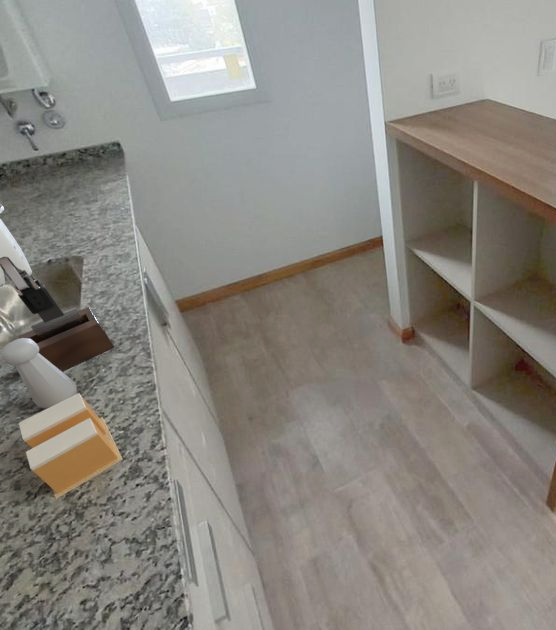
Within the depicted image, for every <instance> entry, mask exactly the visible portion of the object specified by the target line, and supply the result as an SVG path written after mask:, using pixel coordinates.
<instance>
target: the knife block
mask: <svg viewBox="0 0 556 630" xmlns="http://www.w3.org/2000/svg"><path fill="white" fill-rule="evenodd" d="M78 312H79V313H80V315H81V316H82V318H83V319H84V321H85V322H86V323H83V324H81V325H79V326H76V327H74V328H72V329H69V330H67V331H65V332H62V333H60V334H58V335H55V336H53V337H51V338H48V339H46V340H44V341H41V339H40V338H39V337H38V335H37V334H36V333H35V332H34V330H33V329H31V330H29V331H26V332H24V333H22V334H19V335H18V339H21V338H28V339H32V340H33V341H34V342H35V343H36V344H37V345H38V346H39V352H38V353H39V354H41V355H42V356H43V357H44V358H46V359H47V360H48V361H49V362H50V363H52V364H53V365H54V366H55V367H57V368H58V369H59V370H60V371H62V372H63V373H64V372H65V371H67V370H70V369H71V368H73V367H77V365H80V364H83V363H84V362H87V361H88V360H91V359H93V358H95V357H98V356H99V355H101V354H103V353H105V352H108V351H110V350H112V349H114V348H115V345H114V344H113V342H112V340H111V339H110V337H109V335H108V334H107V332H106V330H105V329H104V328H103V326H102V325H101V323H100V321H99V320H98V318H97V317H96V315H95V314H94V313H93V311H92V310H91V308H90V306H87V307H85V308H82V309H80V310H78Z"/></svg>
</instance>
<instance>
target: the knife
mask: <svg viewBox="0 0 556 630" xmlns="http://www.w3.org/2000/svg"><path fill="white" fill-rule="evenodd" d="M40 286H41V288H42V289H43V290H44V292H45V293H46V294H47V296H48V297H49V298H50V300H51V301H52V302H53V304H54V306H53V307H52V308H49V309H47V310H44V311H42V312H39V313H37V315H38V316H39V318H40V319H41V320H40V321H38V322H35V323H32V324H30V325H29V326H30V328H31V330H34V332H35V333H36V334H37V335H38V337H39V338H40V339H41V341H44V340H46V339H48V338H51V337H53V336H55V335H58V334H60V333H62V332H65V331H67V330H69V329H72V328H74V327H76V326H79V325H81V324H83V323H86V322H85V321H84V319H83V318H82V316H81V315H80V313H79V312H78V311H79V310H78V308H77V307H73V308H71V309H69V310H66V311H63V310H62V308H61V307H60V306H59V304H58V302H57V301H56V300H55V298H54V297H53V296H52V295H53V294H51V292H50V291H49V290H48V288H47V287H46V285H45V284H44V283H43V282H42V283H40V284H39V285H38V287H40Z"/></svg>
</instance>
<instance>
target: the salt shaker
mask: <svg viewBox="0 0 556 630" xmlns="http://www.w3.org/2000/svg"><path fill="white" fill-rule="evenodd" d="M38 352H39V346H38V345H37V344H36V343H35V342H34V341H33V340H32V339H28V338H21V339H19V338H17V339H15V340H11V341H10V342H9V343H7V344H5V345H4V346H3V347H2V348H1V351H0V357H1V359H2V360H4V361H5V362H6V363H7V364H8V365H14V367H15V369H16V371H17V373H18V375H19V377H20V379H21V380H22V382H23V383H24V386H25V389H26V390H27V392H28V394H29V396H30V397H31V399H32V401H33V403H34V404H35V405H36V406H37V407H39V408H40V409H43V410H46V409H48V408H50V407H52V406H54V405H56V404H58V403H60V402H62V401H64V400H66V399H68V398H70V397H72V396H74V395H76V394H78V389H77V388H78V385H77V383H76V382H75V381H74V380H73V379H72V378H71V377H69V376H68V375H66V373H64V371H63V372H62V371H60V370H59V369H58V368H57V367H55V366H54V365H53V364H52V363H50V362H49V361H48V360H47V359H46V358H44V357H43V356H42V355H41V354H39V353H38Z"/></svg>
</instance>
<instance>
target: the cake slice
mask: <svg viewBox="0 0 556 630" xmlns="http://www.w3.org/2000/svg"><path fill="white" fill-rule="evenodd" d="M25 455H26V458H27V462H28V465H29V469H30V470H31V471H32V472H33V473H34V474H35V475H36V476H38V477H39V478H40V479H41V481H43V482H44V483H45V484H46V485H47V486H48V487H50V488H51V490H52V491H53V490H54V491H55V492H56V493H60V492H61V491H63V490H65V489H66V488H68V487H70V486H71V485H73V484H75V483H76V482H78V481H80V480H81V479H83V478H85V477H86V476H88V475H90V474H91V473H93V472H95V471H96V470H98V469H100V468H101V467H103V466H105V465H106V464H108V463H110V462H112V461H113V460H115V459H117V458H118V457H117V455H116V453H115V451H114V449H113V447H112V445H111V443H110V442H109V440H108V439H107V438H106V437H105V436H104V434H103V433H102V432H101V431H100V430H99V429H98V427H97V426H96V425H95V424H94V423H93V421H92V420H91V419H90V418H88V419H86V420H84V421H83V422H81V423H79V424H77V425H75V426H73V427H71V428H70V429H68V430H66V431H64V432H62V433H60V434H58V435H56V436H55V437H53V438H51V439H49V440H47V441H45V442H43V443H42V444H40V445H38V446H36V447H34V448H30V449H28V450H27V451H25Z"/></svg>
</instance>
